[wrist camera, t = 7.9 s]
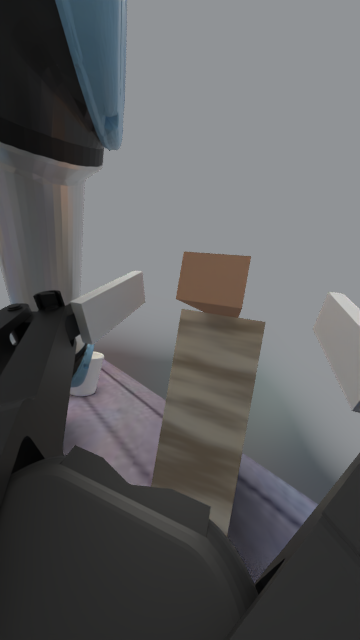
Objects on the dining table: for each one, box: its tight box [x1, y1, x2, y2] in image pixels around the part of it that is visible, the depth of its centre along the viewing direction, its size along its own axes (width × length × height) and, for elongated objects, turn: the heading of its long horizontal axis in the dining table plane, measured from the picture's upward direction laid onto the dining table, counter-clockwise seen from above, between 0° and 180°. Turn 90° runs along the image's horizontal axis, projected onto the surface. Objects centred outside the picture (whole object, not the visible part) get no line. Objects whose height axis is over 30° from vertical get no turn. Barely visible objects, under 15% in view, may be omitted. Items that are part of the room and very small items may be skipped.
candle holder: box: [70, 352, 104, 396], centre depth 61 cm, size 10×10×12 cm
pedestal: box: [151, 309, 265, 536], centre depth 32 cm, size 18×10×30 cm, turn 164°
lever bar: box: [176, 252, 251, 318], centre depth 26 cm, size 30×4×3 cm, turn 164°
